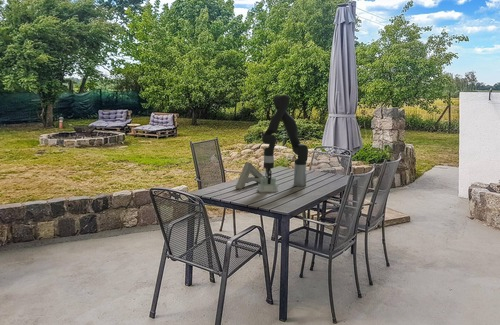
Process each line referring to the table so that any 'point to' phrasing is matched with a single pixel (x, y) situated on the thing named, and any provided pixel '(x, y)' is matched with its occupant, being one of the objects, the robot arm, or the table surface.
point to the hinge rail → (268, 188)
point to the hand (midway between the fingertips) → (268, 182)
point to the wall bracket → (245, 173)
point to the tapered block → (265, 181)
